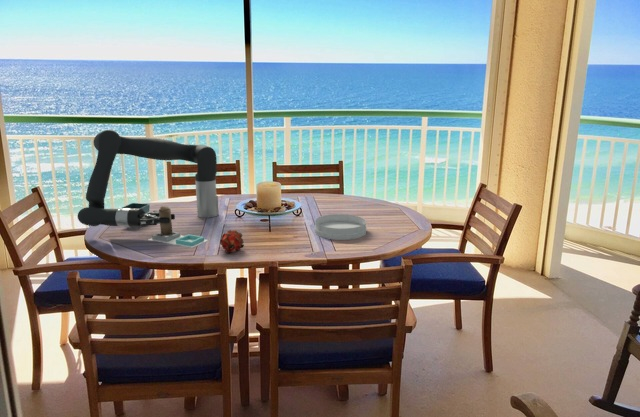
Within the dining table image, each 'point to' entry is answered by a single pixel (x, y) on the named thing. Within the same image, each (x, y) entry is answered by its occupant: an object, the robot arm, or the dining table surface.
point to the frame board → (179, 239)
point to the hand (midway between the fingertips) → (172, 218)
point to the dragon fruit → (232, 241)
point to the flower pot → (138, 206)
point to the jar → (165, 227)
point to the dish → (340, 226)
